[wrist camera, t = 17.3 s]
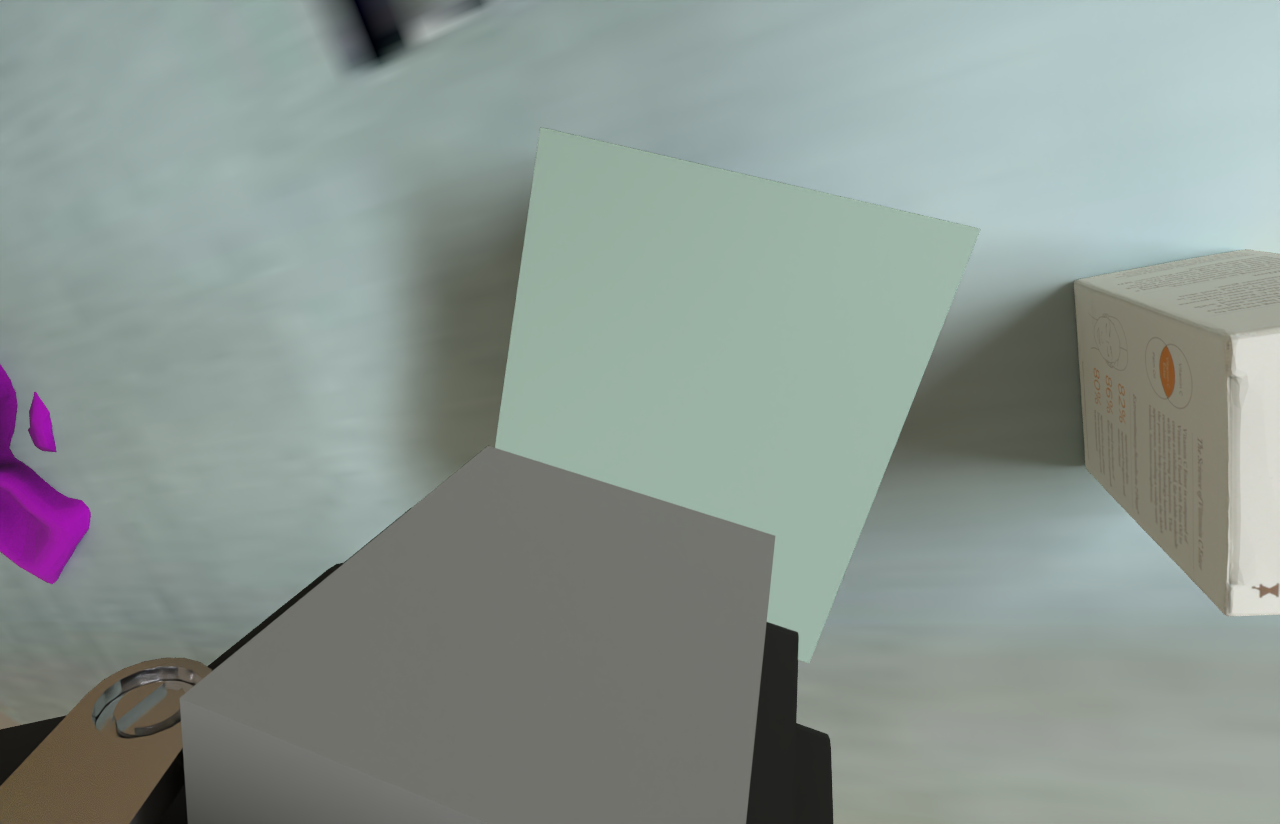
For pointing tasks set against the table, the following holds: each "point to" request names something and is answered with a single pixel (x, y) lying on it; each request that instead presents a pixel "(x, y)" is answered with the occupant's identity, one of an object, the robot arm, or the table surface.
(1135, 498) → the small box
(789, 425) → the lid
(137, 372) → the table surface
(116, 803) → the robot arm
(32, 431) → the cloth
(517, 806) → the block
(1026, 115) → the table surface
